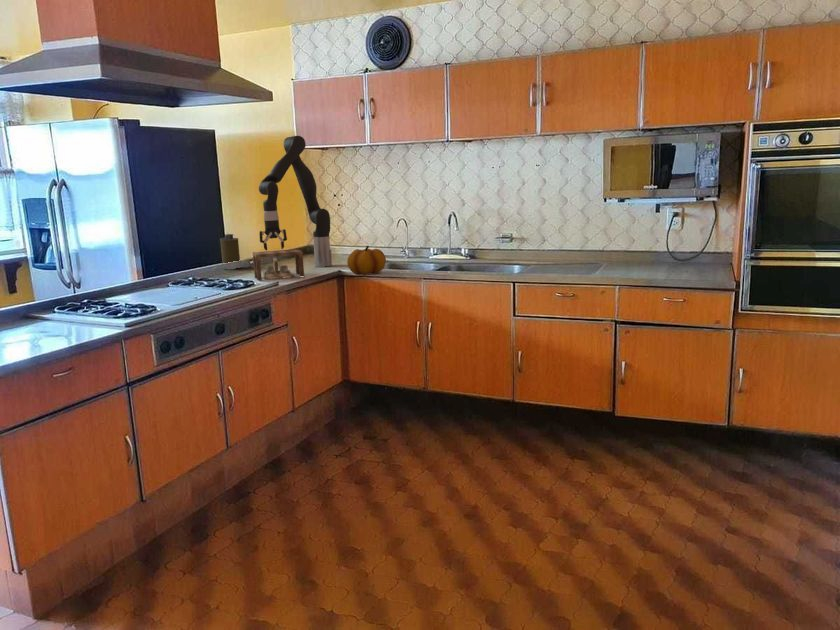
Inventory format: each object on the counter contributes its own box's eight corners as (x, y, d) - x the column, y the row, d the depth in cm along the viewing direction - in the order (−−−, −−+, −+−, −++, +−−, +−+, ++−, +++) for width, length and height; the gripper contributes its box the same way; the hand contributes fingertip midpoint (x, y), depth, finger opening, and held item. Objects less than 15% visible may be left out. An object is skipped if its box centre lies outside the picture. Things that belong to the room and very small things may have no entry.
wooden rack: (299, 273, 358) (298, 249, 355) (304, 276, 347) (302, 251, 344) (254, 277, 349) (252, 252, 347) (257, 280, 338) (255, 254, 336)
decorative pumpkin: (387, 269, 364) (386, 242, 361) (384, 276, 342) (383, 247, 339) (350, 270, 364) (349, 243, 361) (345, 277, 343) (344, 248, 340)
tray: (288, 271, 367) (287, 257, 366) (291, 277, 346) (290, 262, 344) (262, 273, 364) (261, 258, 362) (264, 279, 342) (262, 264, 340)
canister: (244, 267, 389) (241, 233, 385) (234, 270, 379) (231, 235, 375) (228, 267, 393) (225, 233, 388) (218, 269, 383) (215, 235, 379)
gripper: (283, 218, 359) (286, 247, 363) (256, 219, 354) (260, 249, 358) (285, 218, 352) (288, 249, 356) (258, 220, 347) (262, 251, 351)
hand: (274, 249), depth 357 cm, fingers open, 8 cm apart
